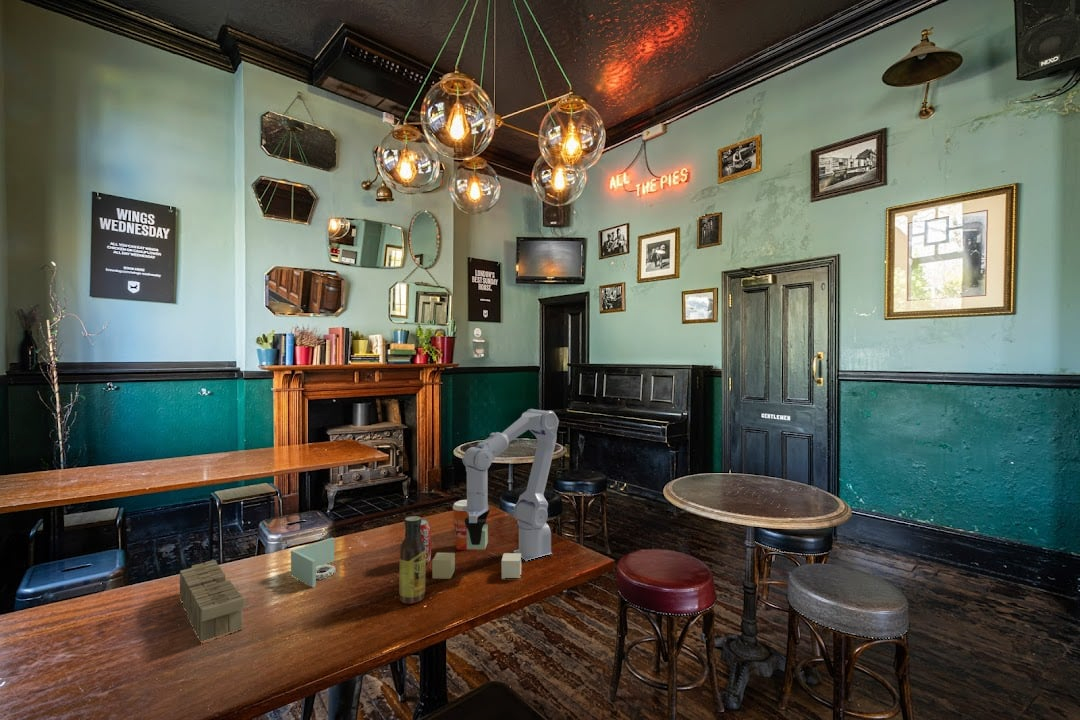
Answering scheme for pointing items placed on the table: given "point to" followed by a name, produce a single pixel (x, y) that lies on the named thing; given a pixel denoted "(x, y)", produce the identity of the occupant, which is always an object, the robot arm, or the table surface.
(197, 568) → the block tower
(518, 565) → the cream block
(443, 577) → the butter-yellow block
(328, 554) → the right angle wall
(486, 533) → the sage green block
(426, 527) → the soda can
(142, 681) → the table surface
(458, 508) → the paper cup
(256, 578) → the table surface
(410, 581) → the sauce bottle
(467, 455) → the robot arm
